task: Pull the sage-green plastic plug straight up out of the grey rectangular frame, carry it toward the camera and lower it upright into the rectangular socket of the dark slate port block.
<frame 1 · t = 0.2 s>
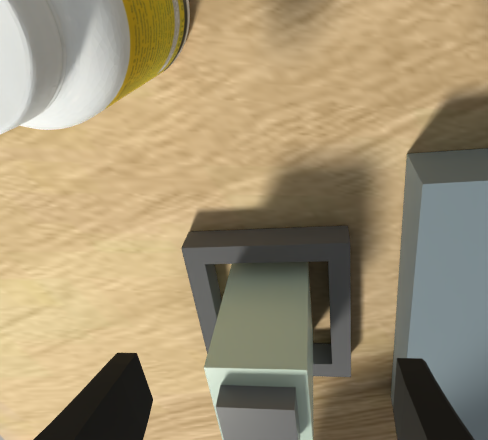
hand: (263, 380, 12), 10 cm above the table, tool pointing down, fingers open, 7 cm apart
plug: (267, 353, 20), in the grey rectangular frame
supplement bottle: (127, 7, 17), on the table
grey rectangular frame: (274, 297, 23), on the table
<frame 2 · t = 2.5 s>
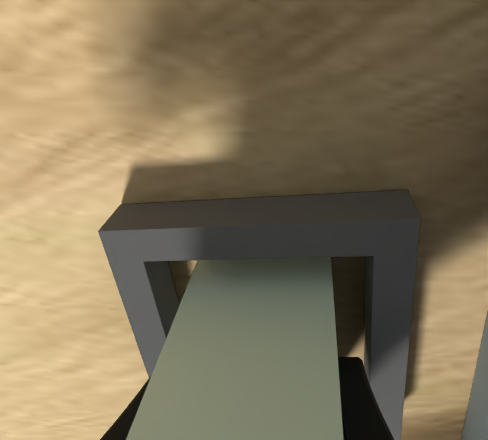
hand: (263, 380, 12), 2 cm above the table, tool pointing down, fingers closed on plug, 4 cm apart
plug: (257, 432, 10), in the grey rectangular frame, touching gripper
grey rectangular frame: (270, 319, 14), on the table
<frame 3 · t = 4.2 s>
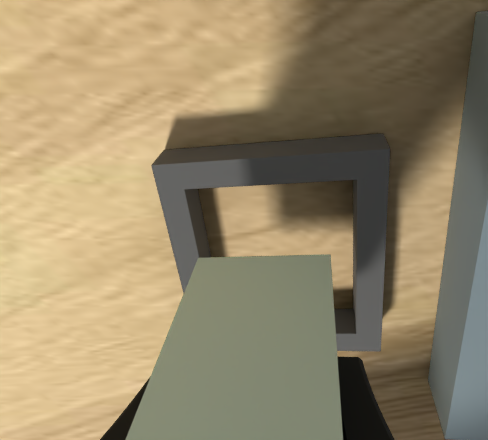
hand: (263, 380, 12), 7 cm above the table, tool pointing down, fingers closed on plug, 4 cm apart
plug: (256, 432, 10), point 8 cm above the table, touching gripper
grey rectangular frame: (279, 245, 17), on the table
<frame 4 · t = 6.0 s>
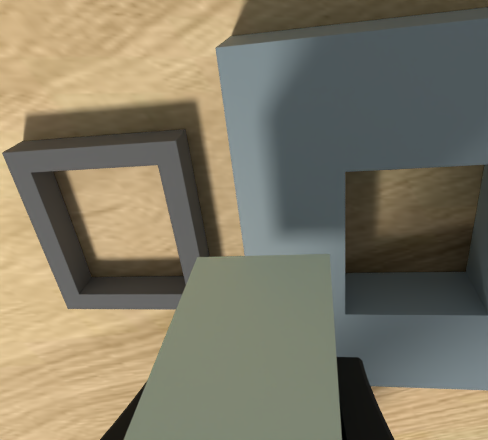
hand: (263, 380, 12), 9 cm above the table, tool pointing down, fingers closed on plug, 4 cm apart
plug: (255, 431, 10), point 11 cm above the table, touching gripper
port block: (406, 211, 19), on the table
grey rectangular frame: (125, 221, 21), on the table
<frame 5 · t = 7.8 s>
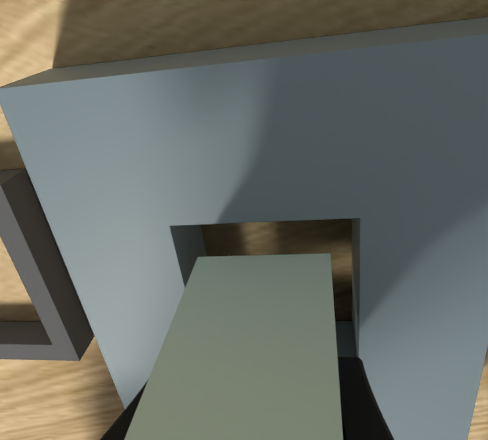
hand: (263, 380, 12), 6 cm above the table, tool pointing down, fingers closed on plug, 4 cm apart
plug: (256, 431, 10), point 8 cm above the table, touching gripper
port block: (277, 257, 17), on the table
when the fingers open (4 cm above the table, at t = 9.4 s): plug drops 2 cm, resting in port block.
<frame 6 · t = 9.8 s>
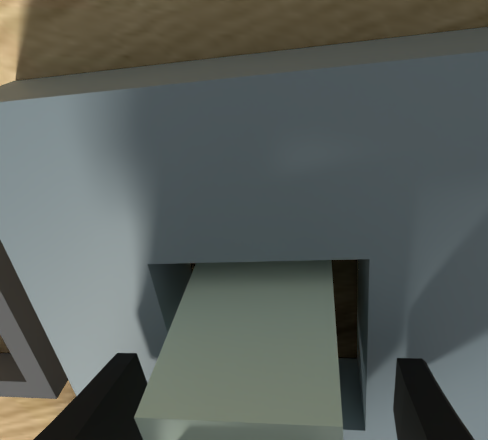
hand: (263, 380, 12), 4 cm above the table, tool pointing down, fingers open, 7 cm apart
plug: (263, 380, 12), in the port block
port block: (274, 290, 15), on the table
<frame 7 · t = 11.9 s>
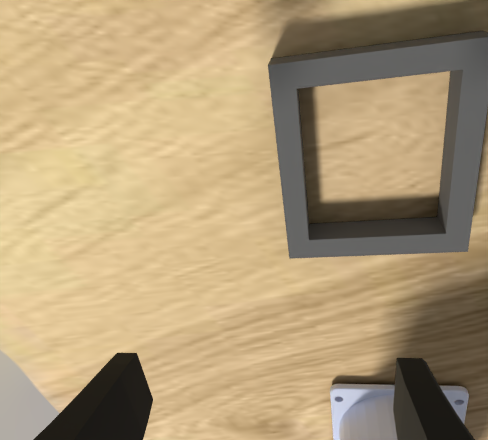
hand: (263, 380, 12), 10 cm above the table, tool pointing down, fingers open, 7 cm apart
grey rectangular frame: (371, 152, 19), on the table
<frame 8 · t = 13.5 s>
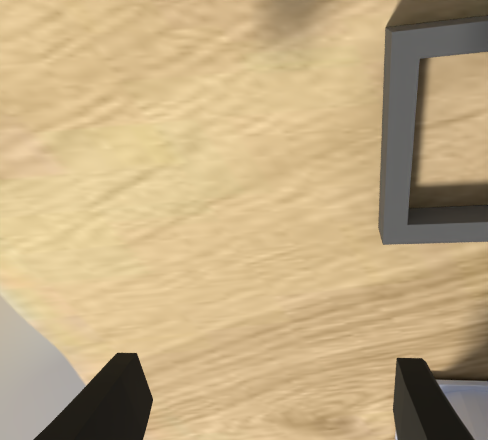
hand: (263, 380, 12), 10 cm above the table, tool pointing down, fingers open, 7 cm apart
grey rectangular frame: (480, 132, 18), on the table
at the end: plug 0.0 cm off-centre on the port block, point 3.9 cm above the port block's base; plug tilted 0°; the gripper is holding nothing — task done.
